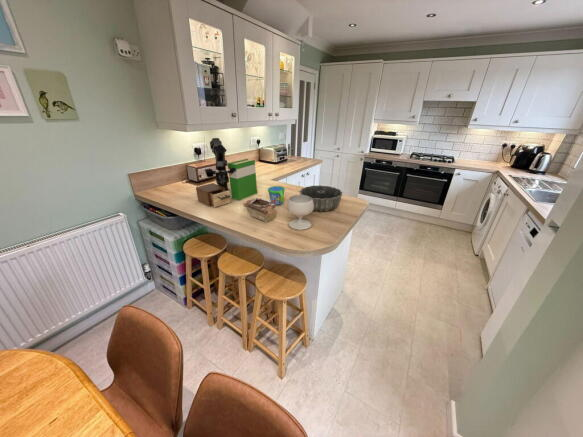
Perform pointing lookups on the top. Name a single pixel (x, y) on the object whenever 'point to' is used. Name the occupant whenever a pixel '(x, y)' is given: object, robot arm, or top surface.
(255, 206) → the lined basket
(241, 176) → the green cereal box
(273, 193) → the snack cup
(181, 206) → the top surface
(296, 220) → the chalice
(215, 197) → the drawer
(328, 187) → the bundt pan
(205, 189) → the cabinet
